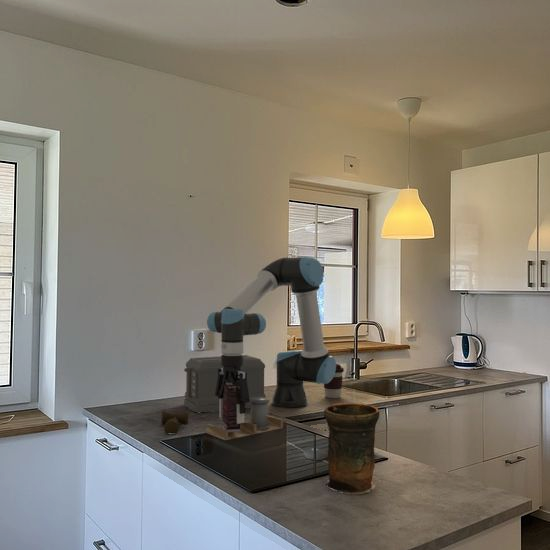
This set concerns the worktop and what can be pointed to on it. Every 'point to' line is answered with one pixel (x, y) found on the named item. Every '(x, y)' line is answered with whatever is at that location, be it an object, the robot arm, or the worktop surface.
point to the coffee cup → (335, 384)
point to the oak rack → (244, 429)
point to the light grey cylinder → (259, 412)
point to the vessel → (351, 447)
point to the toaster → (205, 379)
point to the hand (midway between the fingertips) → (231, 420)
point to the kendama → (174, 420)
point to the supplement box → (230, 407)
